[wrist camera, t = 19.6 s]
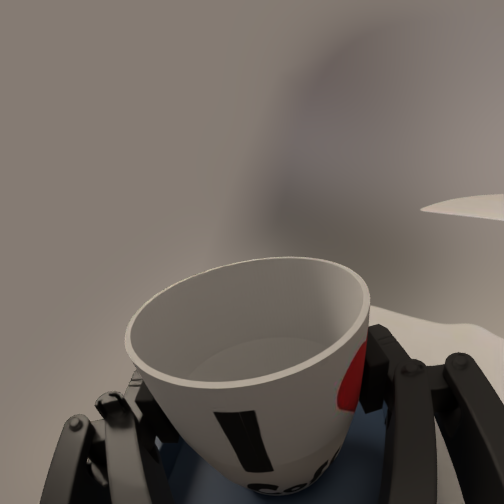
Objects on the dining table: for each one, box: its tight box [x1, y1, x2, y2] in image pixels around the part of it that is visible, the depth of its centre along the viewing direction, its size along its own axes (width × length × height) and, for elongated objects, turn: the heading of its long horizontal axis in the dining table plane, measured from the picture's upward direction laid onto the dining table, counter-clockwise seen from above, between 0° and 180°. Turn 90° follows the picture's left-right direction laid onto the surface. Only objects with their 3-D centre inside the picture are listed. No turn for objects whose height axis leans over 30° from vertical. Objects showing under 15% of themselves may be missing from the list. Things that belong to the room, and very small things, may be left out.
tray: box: [155, 401, 388, 504], centre depth 12 cm, size 14×14×3 cm
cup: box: [125, 257, 370, 496], centre depth 11 cm, size 8×8×10 cm
